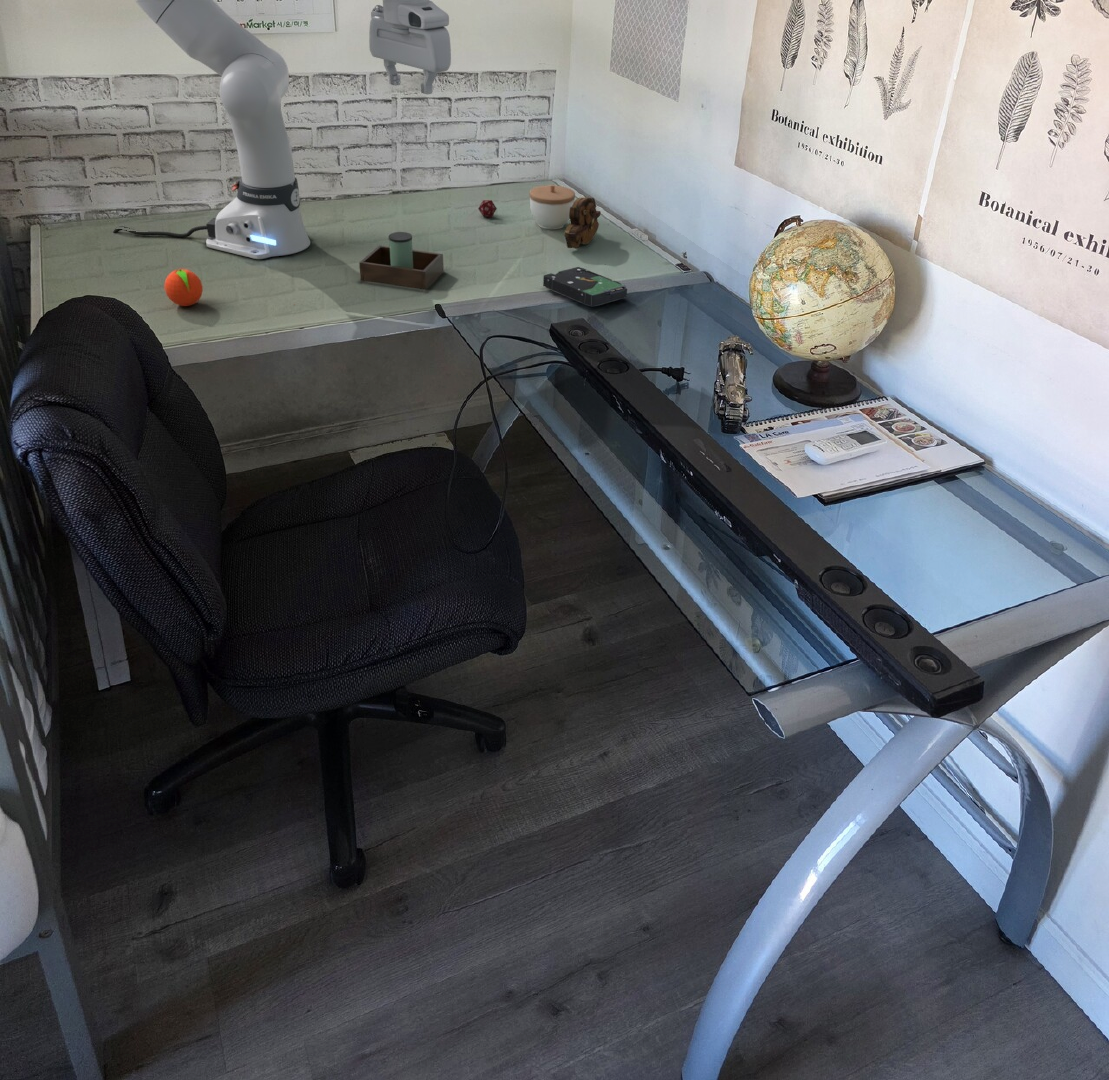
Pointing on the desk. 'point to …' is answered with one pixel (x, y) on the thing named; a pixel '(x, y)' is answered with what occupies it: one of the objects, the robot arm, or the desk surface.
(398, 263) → the cylinder
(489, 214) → the dice
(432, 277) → the walnut box
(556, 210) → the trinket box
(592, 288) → the disk drive
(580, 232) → the wooden carving
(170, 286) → the clementine
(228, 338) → the desk surface
